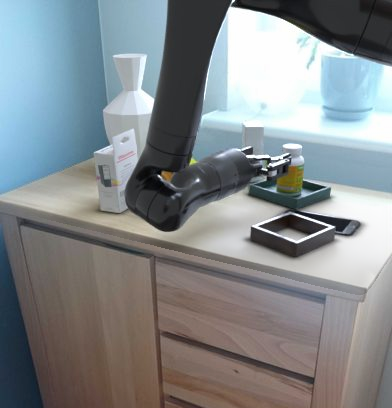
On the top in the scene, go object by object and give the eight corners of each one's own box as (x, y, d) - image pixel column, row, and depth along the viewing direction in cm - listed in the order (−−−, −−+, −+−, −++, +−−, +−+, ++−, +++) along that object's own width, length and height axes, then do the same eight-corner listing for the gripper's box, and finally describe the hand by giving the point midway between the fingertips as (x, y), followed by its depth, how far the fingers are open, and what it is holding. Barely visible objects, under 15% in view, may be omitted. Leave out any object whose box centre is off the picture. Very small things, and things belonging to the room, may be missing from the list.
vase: (97, 170, 137) (84, 56, 123) (143, 158, 145) (135, 50, 131) (132, 182, 129) (123, 61, 115) (179, 169, 137) (175, 55, 123)
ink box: (121, 197, 120) (115, 125, 112) (141, 201, 118) (136, 127, 110) (98, 210, 114) (90, 135, 105) (119, 214, 112) (112, 137, 104)
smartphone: (350, 238, 101) (351, 234, 101) (273, 224, 107) (273, 220, 107) (361, 225, 106) (362, 220, 106) (287, 212, 113) (288, 208, 112)
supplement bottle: (298, 198, 117) (303, 150, 111) (273, 195, 118) (276, 148, 113) (303, 190, 121) (308, 143, 115) (279, 187, 122) (282, 141, 117)
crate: (334, 240, 100) (336, 226, 98) (295, 257, 94) (297, 243, 92) (288, 224, 106) (289, 211, 105) (250, 239, 100) (250, 226, 99)
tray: (330, 196, 119) (331, 187, 118) (296, 209, 113) (297, 199, 112) (282, 182, 127) (283, 173, 126) (248, 194, 121) (249, 184, 120)
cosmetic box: (263, 182, 128) (266, 126, 121) (243, 182, 128) (245, 126, 121) (259, 174, 133) (261, 120, 126) (240, 174, 133) (242, 120, 126)
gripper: (255, 160, 91) (304, 140, 102) (187, 147, 99) (240, 130, 109) (253, 205, 96) (300, 181, 106) (188, 189, 103) (239, 168, 113)
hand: (269, 155), depth 108 cm, fingers open, 8 cm apart
